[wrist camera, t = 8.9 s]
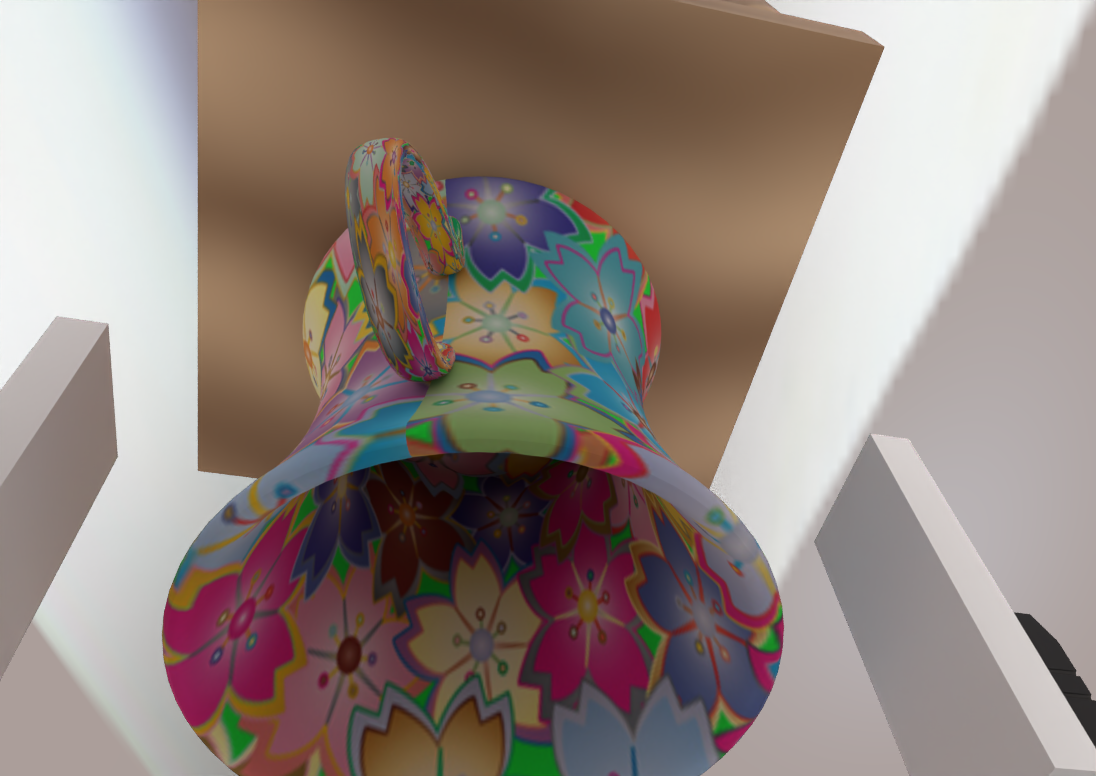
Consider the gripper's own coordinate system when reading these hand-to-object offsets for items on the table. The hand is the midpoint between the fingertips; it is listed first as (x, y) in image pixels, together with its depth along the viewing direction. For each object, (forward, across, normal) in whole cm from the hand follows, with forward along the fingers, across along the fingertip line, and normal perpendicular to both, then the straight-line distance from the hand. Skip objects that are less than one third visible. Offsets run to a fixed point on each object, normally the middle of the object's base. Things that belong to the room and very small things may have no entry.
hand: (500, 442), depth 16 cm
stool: (+14, 0, -1) cm, 14 cm away
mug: (+7, 0, -1) cm, 7 cm away
